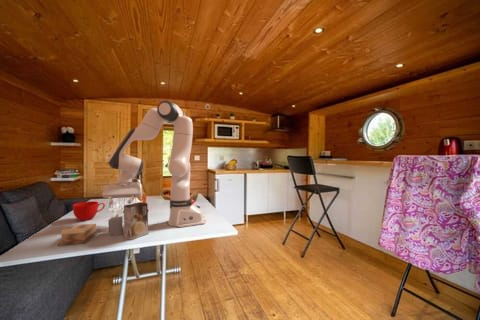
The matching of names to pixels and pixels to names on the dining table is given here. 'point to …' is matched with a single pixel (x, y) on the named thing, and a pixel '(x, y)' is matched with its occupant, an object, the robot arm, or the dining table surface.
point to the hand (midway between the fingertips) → (120, 203)
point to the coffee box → (135, 220)
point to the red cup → (86, 210)
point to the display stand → (78, 234)
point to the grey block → (115, 226)
